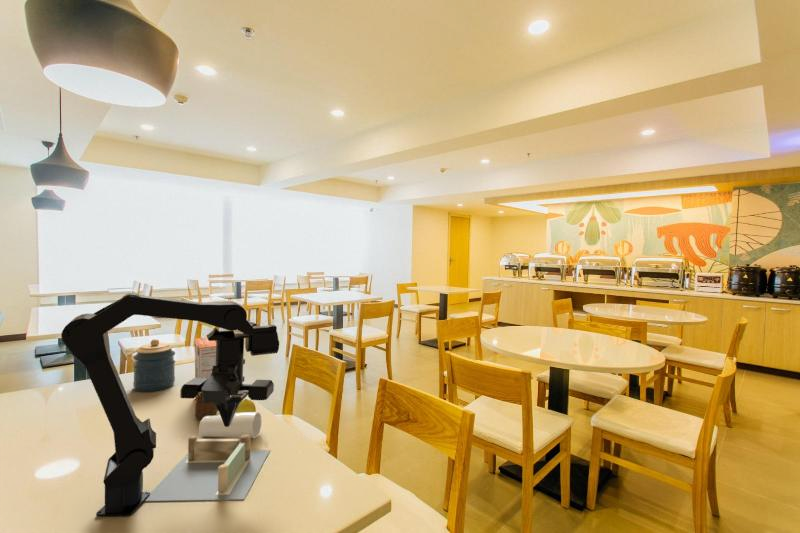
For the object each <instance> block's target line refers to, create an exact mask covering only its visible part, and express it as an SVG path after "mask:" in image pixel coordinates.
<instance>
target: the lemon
mask: <svg viewBox="0 0 800 533" xmlns="http://www.w3.org/2000/svg"><path fill="white" fill-rule="evenodd" d="M241 412H257V410H256V405H255V403H254V401H253V400H251V399H247V398H244V399H243V401H242V402H240V404H239V406H238V408H237V410H236V412H235V413H241Z"/></svg>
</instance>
